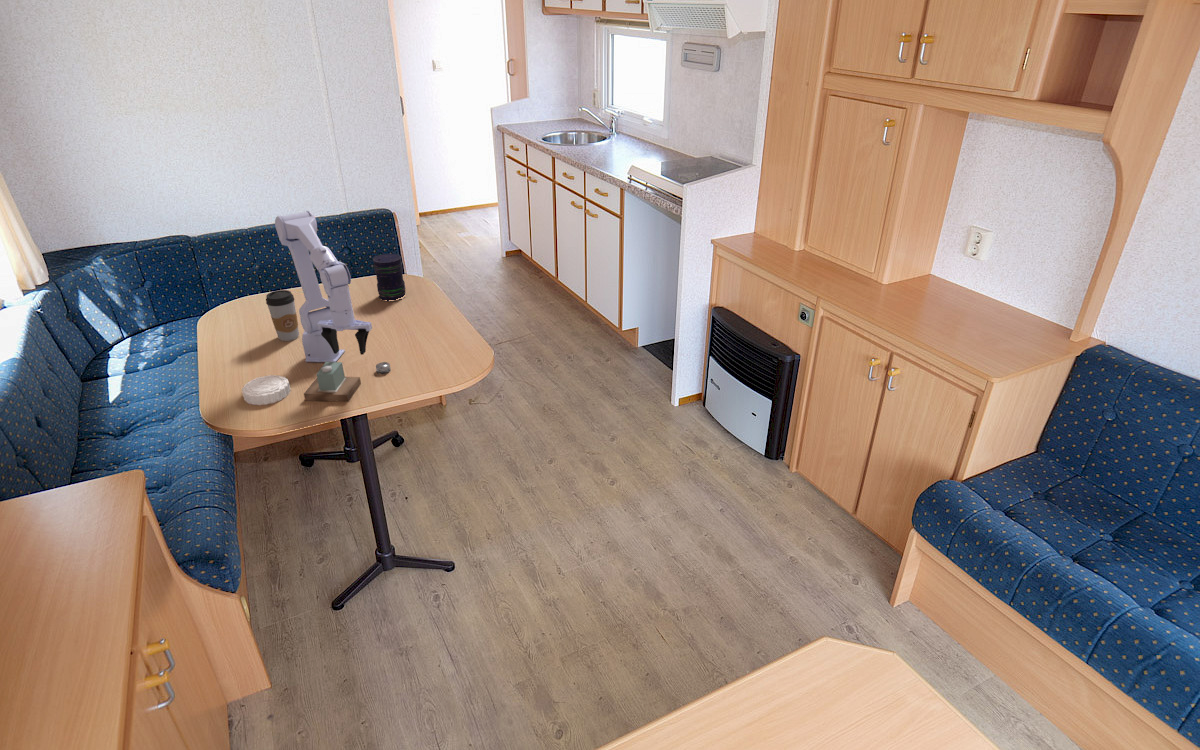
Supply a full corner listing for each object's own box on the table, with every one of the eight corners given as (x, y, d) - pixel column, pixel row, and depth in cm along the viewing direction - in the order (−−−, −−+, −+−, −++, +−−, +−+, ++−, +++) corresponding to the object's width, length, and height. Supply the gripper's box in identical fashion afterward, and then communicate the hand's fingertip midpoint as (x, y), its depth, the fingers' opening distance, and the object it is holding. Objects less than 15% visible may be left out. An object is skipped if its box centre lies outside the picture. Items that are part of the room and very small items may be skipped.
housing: (329, 377, 195) (325, 359, 192) (345, 377, 195) (341, 359, 192) (319, 389, 189) (315, 371, 186) (335, 390, 188) (332, 371, 186)
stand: (305, 400, 188) (303, 392, 187) (319, 382, 197) (318, 375, 196) (348, 401, 188) (346, 393, 187) (361, 383, 197) (359, 376, 195)
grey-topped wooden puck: (374, 374, 202) (373, 368, 201) (379, 367, 205) (378, 362, 204) (388, 374, 202) (387, 368, 201) (392, 368, 205) (391, 362, 204)
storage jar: (399, 289, 260) (394, 251, 253) (411, 297, 253) (405, 258, 246) (374, 295, 255) (368, 257, 247) (385, 303, 248) (379, 264, 241)
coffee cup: (280, 345, 218) (269, 301, 211) (271, 336, 224) (261, 293, 216) (306, 338, 223) (296, 295, 215) (297, 329, 228) (288, 287, 221)
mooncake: (271, 408, 185) (268, 397, 183) (234, 402, 188) (231, 390, 186) (300, 387, 195) (297, 376, 193) (264, 381, 198) (261, 370, 196)
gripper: (309, 313, 184) (318, 358, 190) (362, 314, 183) (370, 359, 189) (320, 302, 190) (329, 346, 196) (371, 304, 189) (378, 348, 196)
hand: (349, 352), depth 193 cm, fingers open, 7 cm apart
